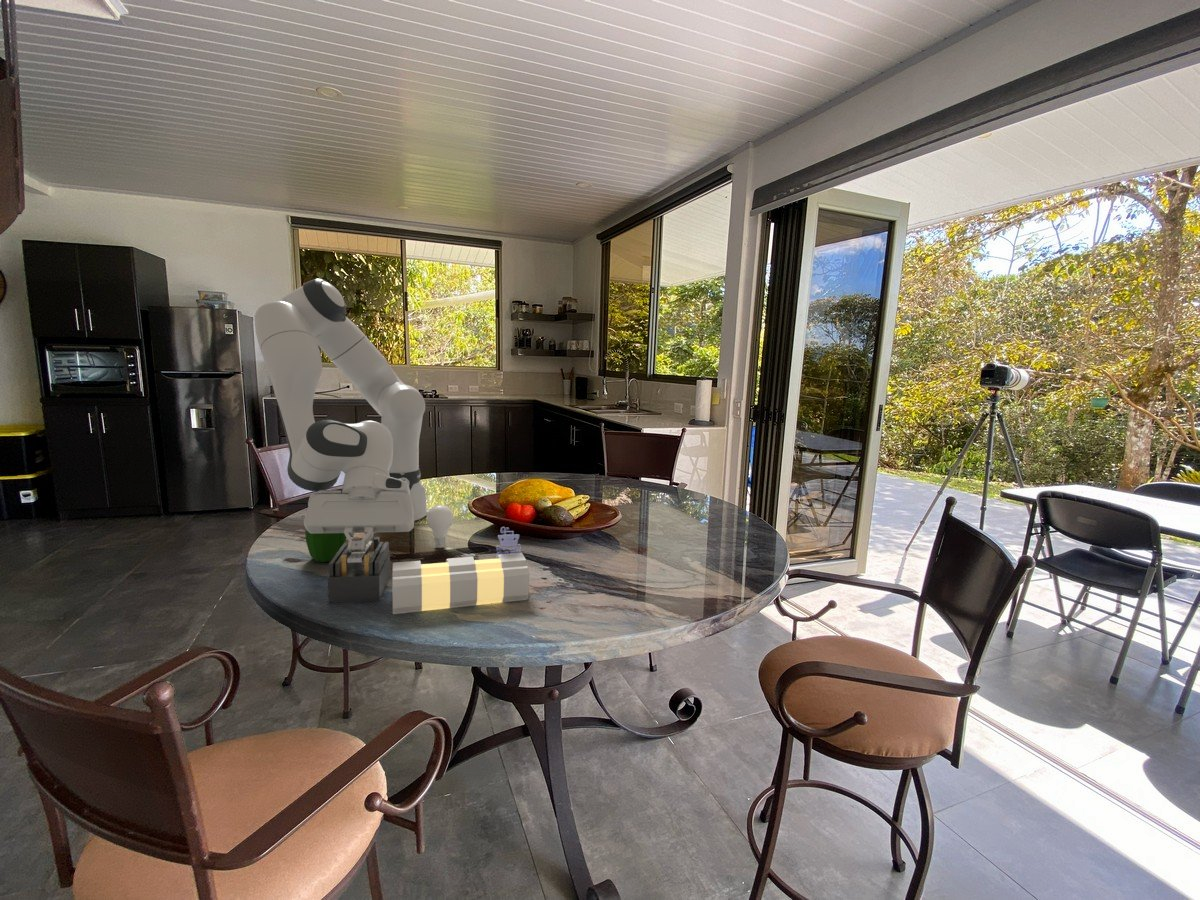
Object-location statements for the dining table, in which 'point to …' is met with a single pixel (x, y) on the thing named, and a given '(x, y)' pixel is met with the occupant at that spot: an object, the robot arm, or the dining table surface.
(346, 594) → the dark grey slotted box
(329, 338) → the robot arm
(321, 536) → the bell pepper
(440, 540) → the lightbulb
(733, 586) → the dining table surface
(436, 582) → the grey yellow striped block
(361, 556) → the grey slab
